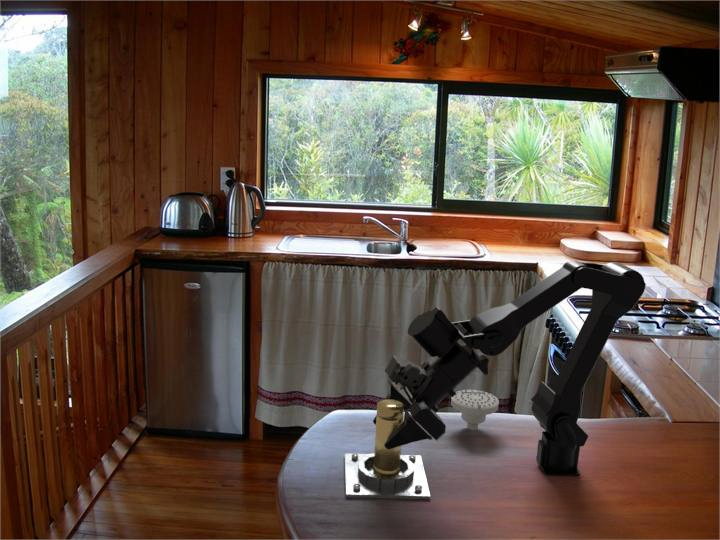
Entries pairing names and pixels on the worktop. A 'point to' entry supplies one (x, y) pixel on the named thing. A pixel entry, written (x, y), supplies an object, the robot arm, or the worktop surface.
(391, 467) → the brass cylinder
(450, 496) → the worktop surface
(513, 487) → the worktop surface
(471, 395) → the showerhead
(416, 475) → the floor flange
